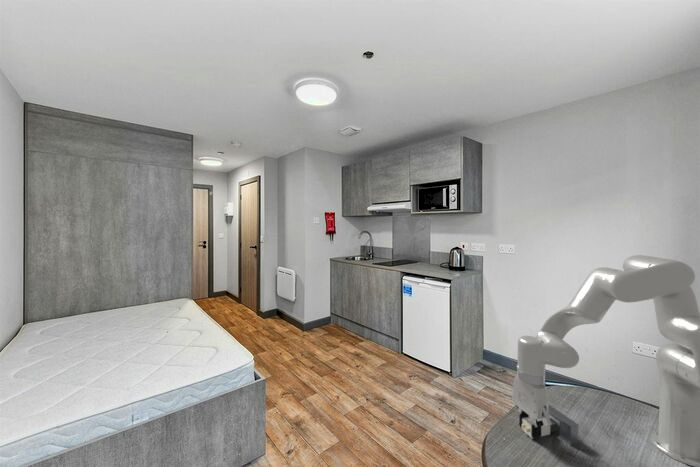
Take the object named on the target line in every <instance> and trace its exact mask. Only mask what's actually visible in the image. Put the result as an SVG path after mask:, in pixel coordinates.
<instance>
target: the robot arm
mask: <svg viewBox="0 0 700 467" xmlns="http://www.w3.org/2000/svg"><path fill="white" fill-rule="evenodd" d="M622 269H623V270H621V269H620V270H619V269H616V268H611V267H598V268H597V267H596V268H595V269H593V270H592V271H591V272H589V274H588V275H587V276H586V279H585V280H584V281H583V283H582V284H581V286H580V287H579V289H578V290H577V291H576V293H575V295H574V296H573V298H572V299H571V301H570V302H569V303H568V304H567V305H566V306H565V307H563V308H561V309H560V310H558V311H556V312H555V313H554V314H551V316H549V317H548V318H547V319H546V320H545V322H544V323H543V324H542V326H541V327H540V329H539V331H537V332H538V333H537V334H536V336H532V335H522V336H520V337H519V338H518V340H517V364H516V366H515V367H516V370H517V371H516V374H515V376H514V379H513V383H512V384H513V385H512V392H511V393H512V396H511V398H512V402H513V404H515V407H516V408H517V413H518V414H519V422H518V425H519V427H520V428H522V427H521V425H522V418H525V417H529V416H531V417H532V419H533V425H532V426H531V436H532V437H533V439H536V438H541V437H542V436H541V426H543V425H544V426H549V425H551V421H550V419H551V418H550V417H549V414H548V413H549V405H550V404H549V396H548V388H547V385H546V365H548V366H551V367H552V366H553V367H556V368H561V369H572V368H574V367H577V365H578V364H579V361H580V355H579V353H578V352H577V350H576V349H575V348H574V347H573V346H572V345H570V344H569V343H568V342H567V341H565V340H564V338H565V337H566V336H567V334H568V333H569V332H570V331H571V330H573V329H574V328H576V327H579V326H582V325H593V324H598V323H600V322H601V321H602V320H603V318H604V317H605V315H606V314H607V312H608V311H609V310H610V309H611V307H612V305H613V304H614V303H615V301H619V302H622V303H638V302H643V301H649V300H653V301H652V302H653V305H654V311H655V317H656V321H657V322H656V323H657V328H658V331H659V333H660V335H662V336H663V338H665V339H666V340H667V339H668V340H669V341H671V342H673V343H666V344H664V345H662V346H660V347H659V348H658V350H657V352H656V357H655V358H656V364H657V369H658V375H659V388H660V389H659V404H658V406H659V407H658V408H659V410H658V412H659V414H658V431H657V432H652V433H651V435H650V441H651V443H652V445H654V446H655V447H656V448H657V449H658V450H659V451H661V452H662V453H663V454H665V455H666V456H668V457H670V458H672V459H674V460H675V461H678V462H680V463H682V464H685V465H689V466H692V467H700V309H699V306H698V302H697V298H696V294H695V291H694V290H693V289H692V285H693V283H694V282H695V279H696V276H695V275H696V274H695V271H694V270H693V268H692V267H691V266H689V264H686V263H685V262H682V261H679V260H677V259H676V260H675V259H671V258H670V259H668V258H662V257H657V256H649V255H632V256H629V257H627V258H625V259H624V261H623V264H622ZM537 419H539V421H538V422H537Z"/></svg>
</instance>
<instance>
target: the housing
mask: <svg viewBox="0 0 700 467" xmlns="http://www.w3.org/2000/svg"><path fill="white" fill-rule="evenodd" d="M548 415H550V416H551V417H552V418H554V419H555V420H557V421H558V422H559V438H560V439H562V440H563V441H564V442H565V443H566V444H567V445H569V446H573V445H574V446H575V445H578V444H579V424H578V423H576V422H575V421H574V420H572V419H571V418H569V417H568V416H566V415H565V414H564V413H562V412H561V411H560V410H558V409H556V408H554V407H553V406H552V405H550V404H549V413H548Z"/></svg>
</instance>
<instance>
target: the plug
mask: <svg viewBox="0 0 700 467" xmlns="http://www.w3.org/2000/svg"><path fill="white" fill-rule="evenodd" d="M549 419H550V421H551V425H549V426H544V425H543V426H541V437H545V436H550V435H551V433H552V432H557V431H559V423H558V422H557V421H556V420H554V419H553V418H549ZM538 421H539V419H537V422H538ZM532 425H533V419H532V417H531V416H529V417H525V418H522V425H521V427H520V428H521V430H522V432H524V433H525V434H526V435H527V436H529V438H531V440H533V439H534V438H533V437H532V436H531V426H532Z"/></svg>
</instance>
